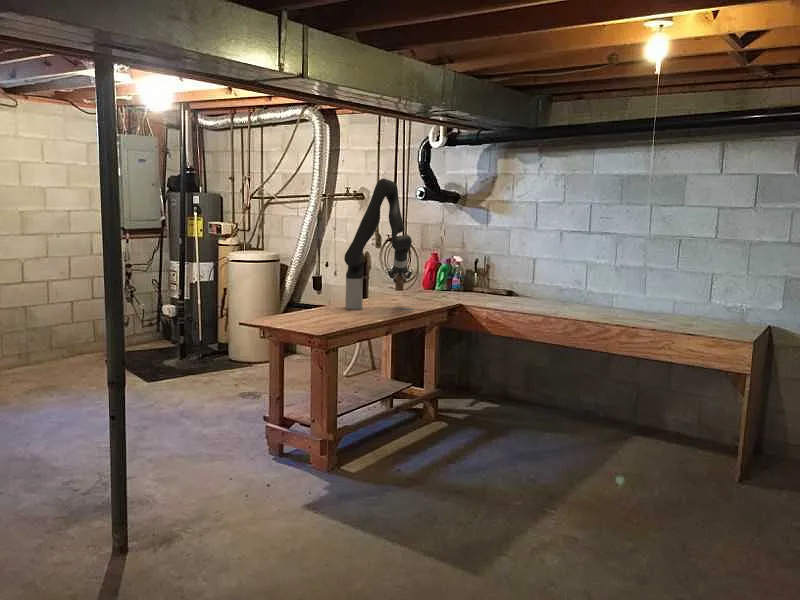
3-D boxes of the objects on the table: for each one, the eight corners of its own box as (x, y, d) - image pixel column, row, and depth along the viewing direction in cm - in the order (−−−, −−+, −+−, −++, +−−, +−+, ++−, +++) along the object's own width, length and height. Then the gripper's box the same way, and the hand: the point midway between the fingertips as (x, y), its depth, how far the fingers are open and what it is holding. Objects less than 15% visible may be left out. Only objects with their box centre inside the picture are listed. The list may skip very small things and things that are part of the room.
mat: (399, 310, 368) (399, 310, 368) (398, 308, 376) (398, 308, 376) (413, 310, 369) (413, 310, 369) (412, 308, 377) (412, 308, 377)
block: (395, 290, 377) (396, 271, 375) (395, 289, 381) (395, 270, 380) (403, 290, 377) (404, 271, 375) (403, 289, 381) (403, 270, 380)
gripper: (413, 257, 369) (412, 277, 383) (387, 256, 369) (387, 276, 382) (413, 268, 364) (412, 287, 378) (387, 267, 364) (386, 286, 378)
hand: (399, 281), depth 380 cm, fingers closed on block, 4 cm apart
